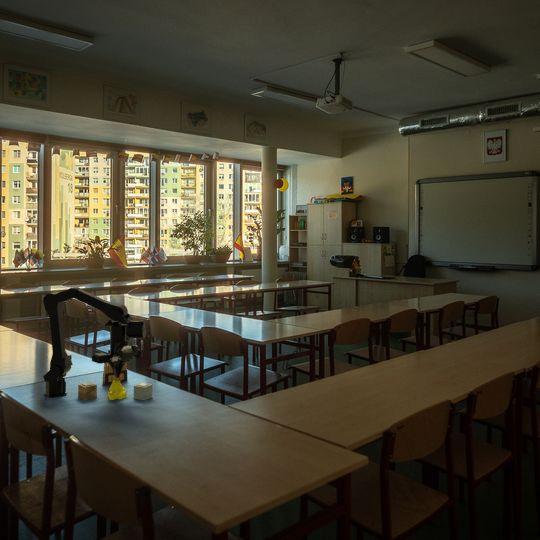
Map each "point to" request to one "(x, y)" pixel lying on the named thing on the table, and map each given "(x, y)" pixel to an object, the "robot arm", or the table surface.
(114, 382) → the crumpled paper
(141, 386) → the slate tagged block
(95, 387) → the walnut tagged block
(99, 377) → the table surface
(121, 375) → the ammunition clip
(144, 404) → the table surface
